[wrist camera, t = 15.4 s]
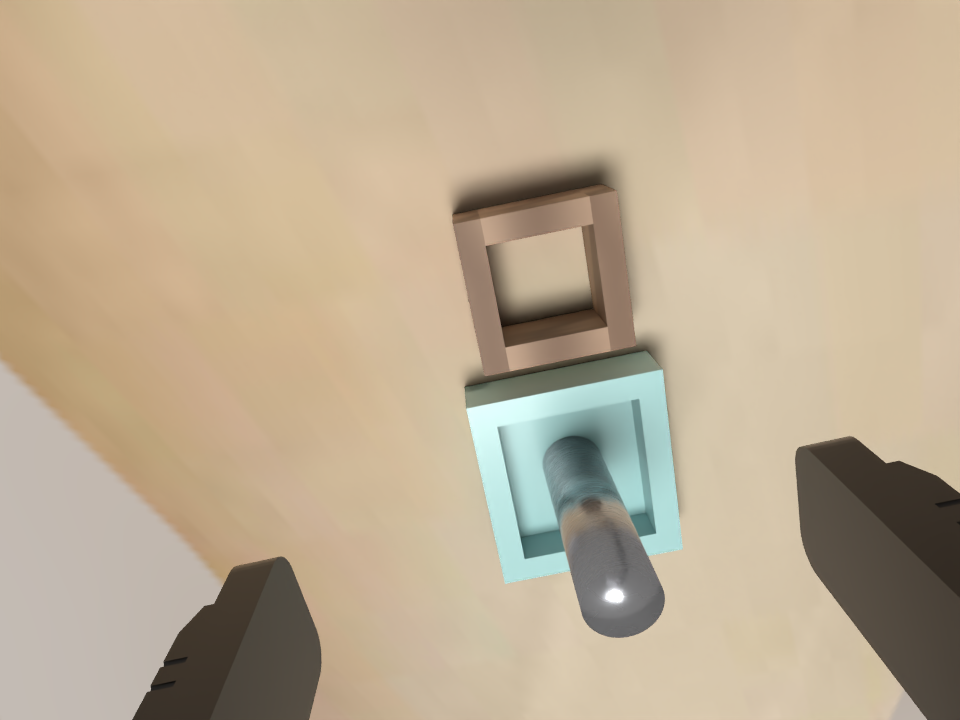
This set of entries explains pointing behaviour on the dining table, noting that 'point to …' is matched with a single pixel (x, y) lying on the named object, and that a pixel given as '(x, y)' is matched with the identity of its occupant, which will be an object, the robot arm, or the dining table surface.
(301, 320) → the dining table surface
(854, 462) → the robot arm
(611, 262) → the holder
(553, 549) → the tray
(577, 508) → the pin
